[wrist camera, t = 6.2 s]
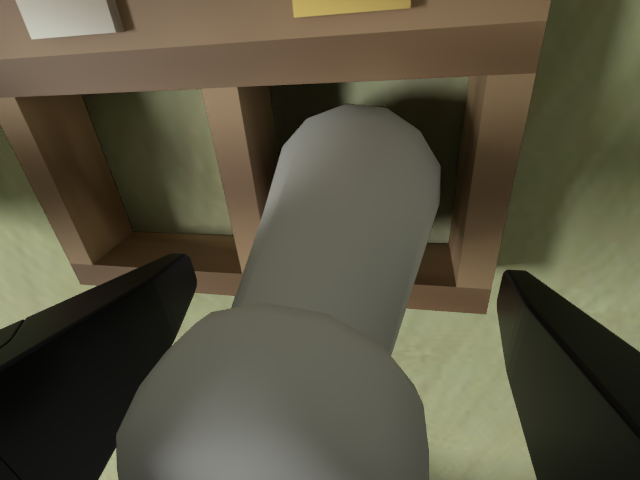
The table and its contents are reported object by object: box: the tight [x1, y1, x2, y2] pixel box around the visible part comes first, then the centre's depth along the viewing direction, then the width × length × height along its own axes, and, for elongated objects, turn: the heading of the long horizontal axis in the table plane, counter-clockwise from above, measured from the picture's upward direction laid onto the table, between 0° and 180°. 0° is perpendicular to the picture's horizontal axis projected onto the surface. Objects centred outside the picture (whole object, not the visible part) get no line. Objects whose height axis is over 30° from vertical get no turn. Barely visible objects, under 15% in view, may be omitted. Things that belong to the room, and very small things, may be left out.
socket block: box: [0, 0, 551, 314], centre depth 14 cm, size 14×18×3 cm
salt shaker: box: [116, 104, 441, 480], centre depth 10 cm, size 6×6×13 cm
